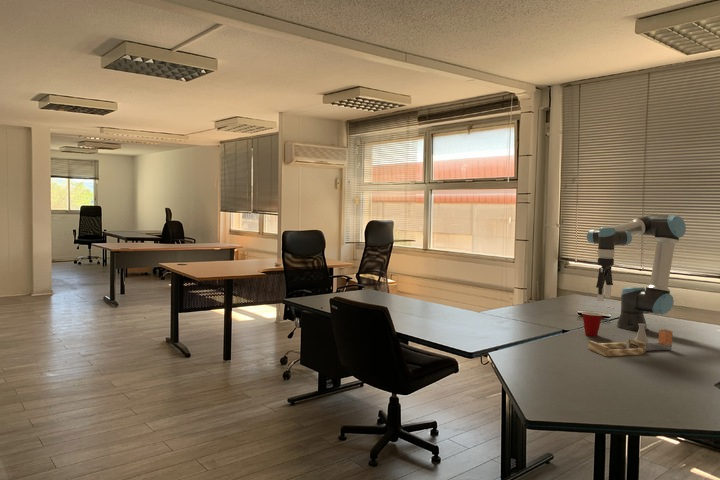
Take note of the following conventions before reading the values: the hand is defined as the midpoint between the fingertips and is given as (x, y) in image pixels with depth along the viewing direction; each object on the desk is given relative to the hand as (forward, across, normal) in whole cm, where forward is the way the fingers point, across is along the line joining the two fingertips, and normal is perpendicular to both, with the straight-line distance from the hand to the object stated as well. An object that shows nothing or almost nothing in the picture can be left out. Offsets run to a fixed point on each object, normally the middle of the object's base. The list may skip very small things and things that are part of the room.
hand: (604, 299), depth 276 cm
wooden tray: (+21, +20, +12) cm, 31 cm away
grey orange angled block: (+21, +6, +23) cm, 32 cm away
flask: (+21, -4, +17) cm, 28 cm away
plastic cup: (+21, -7, -7) cm, 23 cm away
